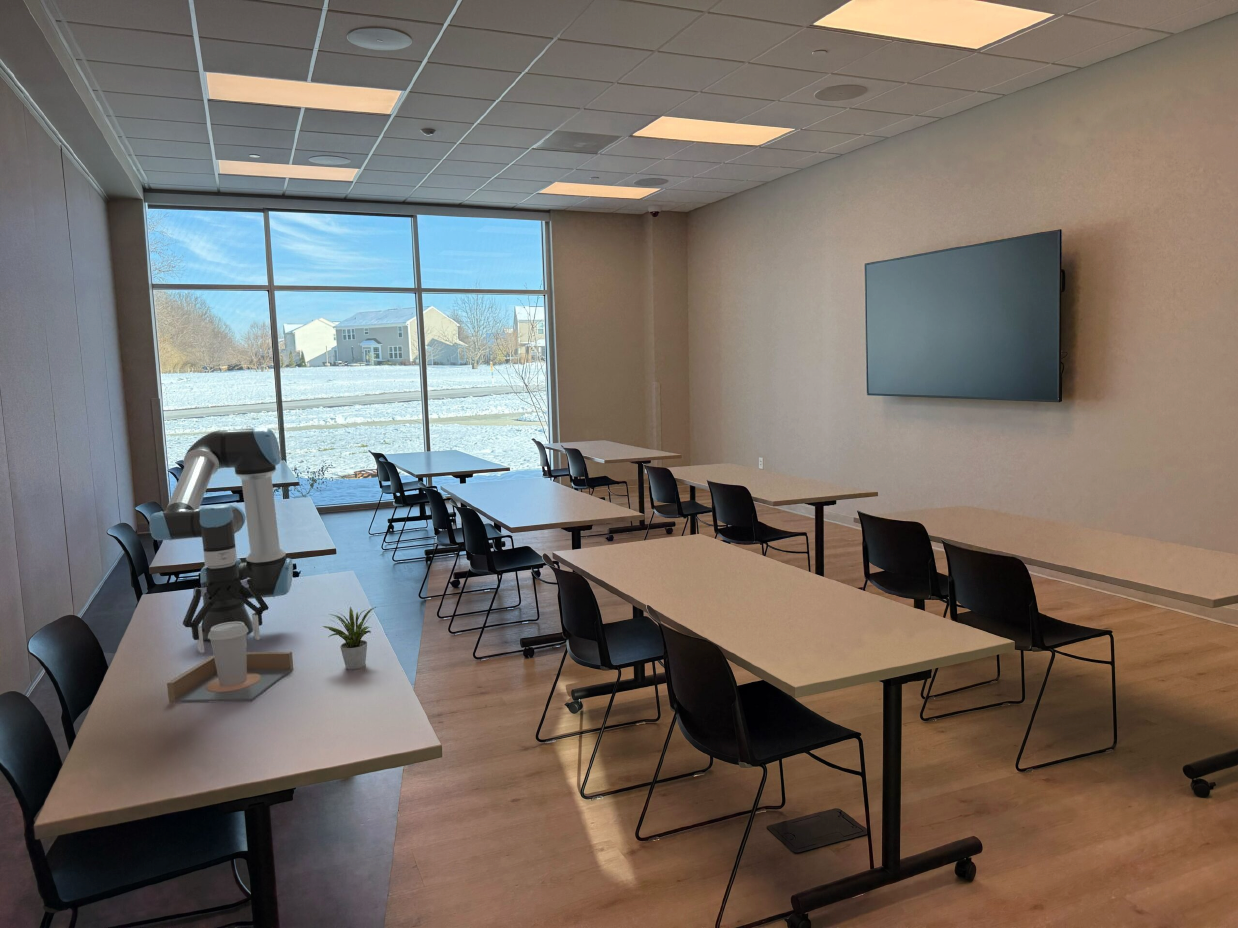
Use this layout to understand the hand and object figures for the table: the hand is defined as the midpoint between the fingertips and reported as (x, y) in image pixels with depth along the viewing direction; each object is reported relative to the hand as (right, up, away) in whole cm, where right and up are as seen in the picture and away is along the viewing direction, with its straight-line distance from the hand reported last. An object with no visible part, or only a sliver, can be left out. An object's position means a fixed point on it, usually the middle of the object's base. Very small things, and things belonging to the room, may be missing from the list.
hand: (229, 644), depth 212 cm
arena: (+1, -11, +1) cm, 11 cm away
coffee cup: (0, -10, +1) cm, 10 cm away
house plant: (+30, -8, +12) cm, 33 cm away
